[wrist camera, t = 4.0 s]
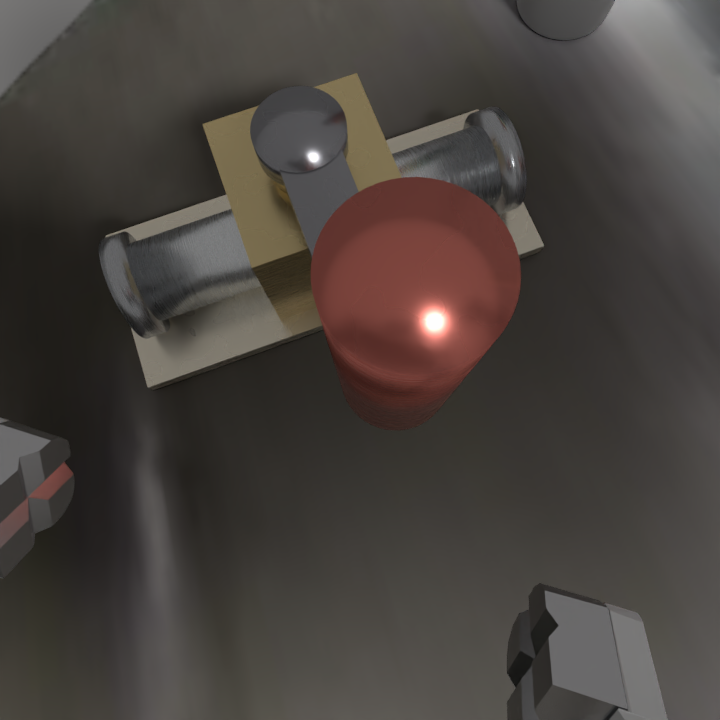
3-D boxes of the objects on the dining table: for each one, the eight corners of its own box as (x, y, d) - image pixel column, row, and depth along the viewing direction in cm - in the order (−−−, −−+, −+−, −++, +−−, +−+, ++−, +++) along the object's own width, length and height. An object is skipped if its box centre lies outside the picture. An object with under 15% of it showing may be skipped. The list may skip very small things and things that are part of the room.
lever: (245, 124, 22) (139, -177, 12) (330, 96, 22) (295, -223, 12) (363, 448, 19) (351, 404, 9) (461, 412, 19) (556, 329, 9)
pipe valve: (475, 118, 32) (512, -18, 23) (539, 252, 30) (606, 157, 21) (112, 241, 31) (10, 146, 22) (153, 390, 29) (60, 348, 20)
